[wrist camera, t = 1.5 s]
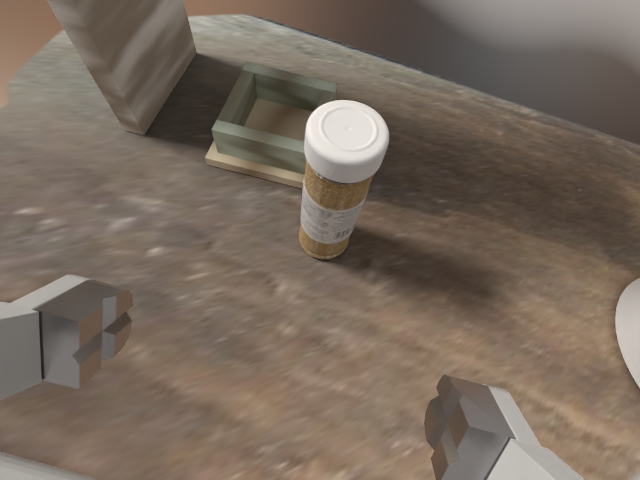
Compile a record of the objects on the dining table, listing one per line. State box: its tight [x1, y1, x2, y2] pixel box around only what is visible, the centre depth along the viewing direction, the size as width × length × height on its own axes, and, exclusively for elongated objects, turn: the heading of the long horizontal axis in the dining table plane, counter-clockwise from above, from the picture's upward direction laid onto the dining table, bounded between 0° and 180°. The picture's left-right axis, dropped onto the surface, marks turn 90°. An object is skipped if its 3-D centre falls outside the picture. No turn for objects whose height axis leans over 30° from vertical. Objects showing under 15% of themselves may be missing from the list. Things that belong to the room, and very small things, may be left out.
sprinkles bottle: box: [299, 100, 389, 259], centre depth 24 cm, size 5×5×13 cm
